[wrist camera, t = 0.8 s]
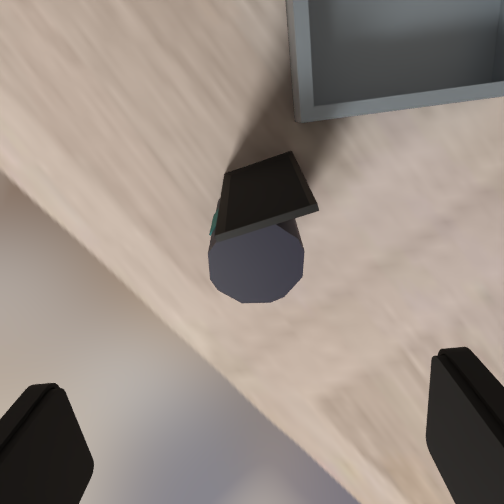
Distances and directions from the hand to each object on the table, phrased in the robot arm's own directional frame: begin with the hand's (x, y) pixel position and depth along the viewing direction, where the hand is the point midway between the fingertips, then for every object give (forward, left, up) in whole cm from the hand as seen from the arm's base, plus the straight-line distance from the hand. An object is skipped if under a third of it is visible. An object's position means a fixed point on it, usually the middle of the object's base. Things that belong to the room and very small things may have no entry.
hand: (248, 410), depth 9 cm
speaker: (0, 0, -20) cm, 20 cm away
